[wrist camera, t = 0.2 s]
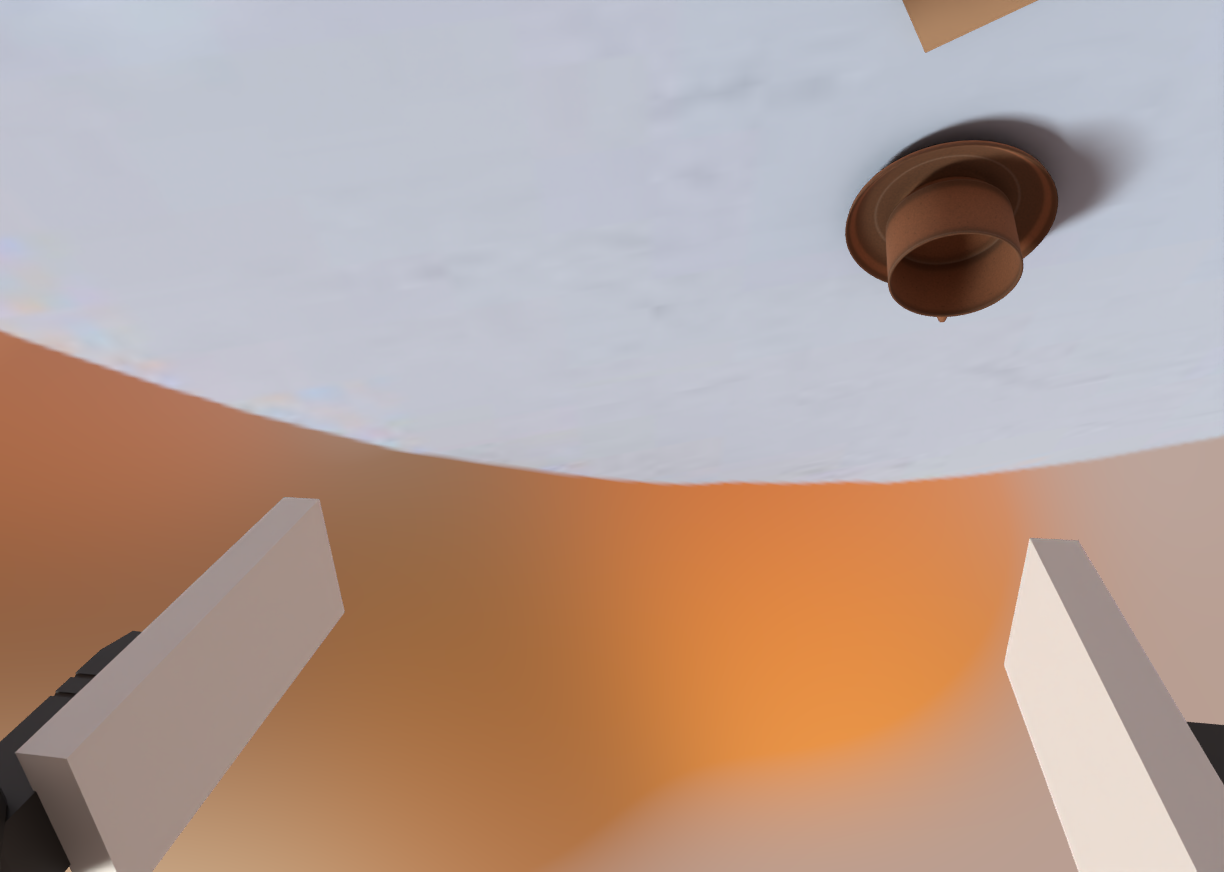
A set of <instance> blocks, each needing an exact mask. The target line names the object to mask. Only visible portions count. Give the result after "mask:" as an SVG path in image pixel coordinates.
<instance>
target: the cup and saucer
mask: <svg viewBox="0 0 1224 872" xmlns="http://www.w3.org/2000/svg"><path fill="white" fill-rule="evenodd" d="M1057 207H1058V195H1057V190H1056V187H1055V184H1054V182H1053V180H1052V178H1051V176H1050V174H1049V173H1048V171H1047V170H1046V169H1045V167H1044V166H1043V165H1042V164H1041V163H1040V162H1039V161H1038V160H1037V159H1035V158H1034V157H1033V156H1031V155H1030V154H1028V153H1026V152H1024V151H1022V150H1020V149H1018V148H1016V147H1013V146H1010V145H1007V144H1002V143H998V142H991V141H980V140H967V141H955V142H948V143H943V144H938V145H934V146H930V147H927V148H924V149H921V150H918V151H916V152H913V153H911V154H908V155H906V156H904V157H902V158H900V159H898V160H897V161H895V162H893V163H891V164H890V165H888V166H887V167H885V168H884V169H882V170H881V171H880V172H879V173H877V174H876V175H875V176H874V177H873V178H872V179H871V180H870V181H869V182H868V183H867V184H866V185H865V186H864V187H863V188H862V190H861V191H860V192H859V194H858V195H857V197H856V198H855V200H854V202H853V204H852V206H851V208H850V211H849V214H848V218H847V222H846V230H845V236H846V243H847V246H848V249H849V252H850V254H851V255H852V257H853V259H854V260H855V261H856V263H857V264H858V265H859V266H860V267H861V268H862V269H863V270H865V271H866V272H867V273H869V274H870V275H872V276H874V277H875V278H877V279H879V280H882V281H884V282H887V283H888V287H889V291H890V294H891V296H892V297H893V299H894V300H895V301H896V302H897V303H898V304H899V305H901V306H902V307H903V308H905V309H907V310H909V311H911V312H914V313H917V314H921V315H925V316H933V317H937V318H938V320H939V321H940V322H944V321H945V320H946V318H947V317H951V316H959V315H965V314H969V313H973V312H976V311H979V310H982V309H984V308H986V307H989V306H991V305H993V304H994V303H996V302H998V301H999V300H1001V299H1002V298H1004V297H1005V296H1006V295H1007V294H1008V293H1010V292H1011V291H1012V290H1013V288H1014V287H1015V286H1016V285H1017V283H1018V282H1019V280H1020V278H1021V275H1022V272H1023V258H1025V257H1026V256H1027V255H1028V254H1029V253H1031V252H1032V251H1033V250H1034V249H1035V248H1036V247H1037V246H1038V245H1039V244H1040V242H1041V241H1042V240H1043V239H1044V237H1045V236H1046V235H1047V233H1048V232H1049V230H1050V228H1051V226H1052V224H1053V222H1054V220H1055V216H1056V213H1057Z"/></svg>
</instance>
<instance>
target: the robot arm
mask: <svg viewBox="0 0 1224 872" xmlns="http://www.w3.org/2000/svg"><path fill="white" fill-rule="evenodd" d="M343 614H344V607H343V603H342V598H341V594H340V589H339V585H338V581H337V576H336V571H335V567H334V563H333V558H332V554H331V549H330V545H329V540H328V536H327V531H326V527H325V522H324V518H323V513H322V509H321V504H320V500H319V499H307V498H288V497H284V498H283V499H282V500H281V501H280V502H278V503H277V504H276V505H275V506H274V507H273V508H272V509H271V510H270V511H269V512H268V513H267V514H266V515H265V516H264V517H263V518H262V519H261V520H260V521H258V522H257V523H256V524H255V525H254V526H253V527H252V528H251V529H250V530H249V531H248V532H247V533H246V534H245V535H244V536H243V537H242V538H241V539H240V540H239V541H237V542H236V543H235V544H234V545H233V546H232V547H231V548H230V549H229V550H228V551H227V552H226V553H225V554H224V555H223V556H222V557H221V558H220V559H218V561H216V562H215V563H214V564H213V565H212V566H211V567H210V568H209V569H208V570H207V571H206V572H205V573H204V574H203V575H202V576H201V577H199V578H198V579H197V580H196V581H195V582H194V583H193V584H192V585H191V586H190V587H189V588H188V589H187V590H186V591H185V592H184V593H183V594H182V595H180V596H179V597H178V598H177V599H176V600H175V601H174V602H173V603H172V604H171V605H170V606H169V607H168V608H167V609H166V610H165V611H164V612H163V613H161V615H159V616H158V618H156V619H155V620H154V621H153V622H152V623H151V624H150V625H149V626H148V627H147V628H146V629H145V630H144V631H143V632H137V631H132V632H130V633H129V634H127V635H125V636H124V637H122V638H120V639H118V640H117V641H115V642H113V643H112V644H110V645H108V646H106V647H105V648H103V649H101V650H100V651H99V652H98V653H97V654H96V655H94V656H93V657H92V658H91V659H90V660H89V661H88V662H87V663H86V664H85V665H83V667H81V668H80V669H79V670H78V671H77V672H76V676H75V677H70V678H69V679H68V680H67V681H66V682H65V683H64V684H63V685H62V686H61V687H60V688H59V689H57V690H56V693H55V696H50V697H49V698H48V699H47V700H45V701H44V702H43V703H42V704H41V705H40V706H39V707H38V708H37V709H36V710H34V711H33V712H32V713H31V714H30V715H29V716H28V717H27V718H26V719H25V720H24V721H23V722H21V723H20V724H19V725H18V726H17V727H16V728H15V729H14V730H13V731H12V732H10V733H9V734H8V735H7V736H6V737H5V738H4V739H3V740H2V741H1V742H0V872H65V871H66V869H67V868H68V867H70V869H71V871H72V872H152V871H153V870H154V868H155V867H156V866H157V864H158V863H159V862H160V860H161V859H162V858H163V856H164V855H165V854H166V852H167V851H168V849H169V848H170V847H171V845H172V844H173V843H174V841H175V840H176V839H177V837H178V836H179V835H180V833H181V832H182V831H183V829H184V828H185V827H186V825H187V824H188V822H189V821H190V820H191V819H192V817H193V816H194V814H195V813H196V812H197V810H198V809H199V808H200V806H201V805H202V804H203V802H204V801H205V800H206V798H207V797H208V796H209V794H210V793H211V792H212V790H213V789H214V787H215V786H216V785H217V783H218V782H219V781H220V779H221V778H222V777H223V775H224V774H225V773H226V771H227V770H228V769H229V767H230V766H231V765H232V763H233V762H234V761H235V759H236V758H237V756H238V755H239V754H240V752H241V751H242V750H243V748H244V747H245V746H246V744H247V743H248V742H249V740H250V739H251V738H252V736H253V735H254V733H255V732H256V731H257V729H258V728H259V727H260V725H261V724H262V723H263V721H264V720H265V718H266V717H267V716H268V715H269V713H270V712H271V710H272V709H273V708H274V707H275V705H276V704H277V703H278V701H279V700H280V698H281V697H282V696H283V694H284V693H285V692H286V690H287V689H288V688H289V686H290V685H291V684H292V682H293V681H294V680H295V678H296V677H297V676H298V674H299V673H300V671H301V670H302V668H303V667H304V666H305V665H306V663H307V662H308V661H309V659H310V658H311V657H312V655H313V654H314V652H315V651H316V650H317V649H318V647H319V646H320V645H321V643H322V642H323V640H324V639H325V638H326V636H327V635H328V634H329V632H330V631H331V630H332V628H333V627H334V625H335V624H336V623H337V622H338V620H339V619H340V617H341V616H342V615H343ZM1004 666H1005V669H1006V672H1007V674H1008V677H1009V680H1010V683H1011V685H1012V688H1013V691H1014V694H1015V697H1016V699H1017V702H1018V705H1019V708H1020V710H1021V713H1022V716H1023V719H1024V722H1025V724H1026V727H1027V730H1028V732H1029V735H1030V738H1031V741H1032V744H1033V746H1034V749H1035V752H1036V755H1037V757H1038V761H1039V763H1040V766H1041V769H1042V772H1043V774H1044V777H1045V780H1046V782H1047V785H1048V788H1049V791H1050V794H1051V797H1052V799H1053V802H1054V805H1055V808H1056V810H1057V813H1058V816H1059V819H1060V822H1061V824H1062V827H1063V830H1064V833H1065V835H1066V838H1067V841H1068V844H1069V847H1070V849H1071V852H1072V855H1073V858H1074V860H1075V863H1076V866H1077V869H1078V872H1224V725H1216V724H1205V723H1194V722H1186V721H1185V719H1184V717H1183V716H1182V714H1181V712H1180V711H1179V709H1178V707H1177V706H1176V704H1175V702H1174V700H1173V699H1172V697H1171V695H1170V694H1169V692H1168V690H1167V689H1166V687H1165V685H1164V684H1163V682H1162V680H1161V679H1160V677H1159V675H1158V674H1157V672H1156V670H1155V669H1154V667H1153V665H1152V663H1151V662H1150V660H1149V658H1148V657H1147V655H1146V653H1145V652H1144V650H1143V648H1142V647H1141V645H1140V643H1139V642H1138V640H1137V638H1136V637H1135V635H1134V633H1133V631H1132V630H1131V628H1130V627H1129V625H1128V623H1127V621H1126V620H1125V618H1124V616H1123V615H1122V613H1121V611H1120V610H1119V608H1118V606H1117V605H1116V603H1115V601H1114V600H1113V598H1112V596H1111V594H1110V593H1109V591H1108V590H1107V588H1106V586H1105V585H1104V583H1103V581H1102V579H1101V578H1100V576H1099V574H1098V573H1097V571H1096V569H1095V568H1094V566H1093V564H1092V562H1091V561H1090V560H1089V557H1088V556H1087V554H1086V552H1085V551H1084V549H1083V547H1082V546H1081V544H1080V542H1079V541H1077V540H1059V539H1040V538H1030V540H1029V545H1028V549H1027V554H1026V559H1025V564H1024V570H1023V574H1022V579H1021V584H1020V589H1019V594H1018V599H1017V603H1016V609H1015V613H1014V618H1013V623H1012V628H1011V633H1010V638H1009V643H1008V647H1007V652H1006V657H1005V663H1004Z"/></svg>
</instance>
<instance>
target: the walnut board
mask: <svg viewBox="0 0 1224 872" xmlns="http://www.w3.org/2000/svg"><path fill="white" fill-rule="evenodd" d="M1035 1H1037V0H903V3H904V5H905V7H906V10H907V12H908V14H909V17H910V19H911V21H912V23H913V26H914V28H915V30H916V33H917V35H918V37H919V39H920V42H921V44H922V46H923V49H924V51H925V53H926V52H928V51H930V50H933V49H935V48H937V47H939V46H941V45H943V44H945V43H948V42H950V41H952V40H954V39H956V38H958V37H960V36H962V35H965V34H967V33H969V32H971V31H973V30H975V29H977V28H980V27H982V26H984V25H986V24H988V23H990V22H992V21H994V20H997V19H999V18H1001V17H1003V16H1005V15H1007V14H1009V13H1012V12H1014V11H1016V10H1018V9H1020V8H1022V7H1024V6H1026V5H1029V4H1031V3H1033V2H1035Z"/></svg>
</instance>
